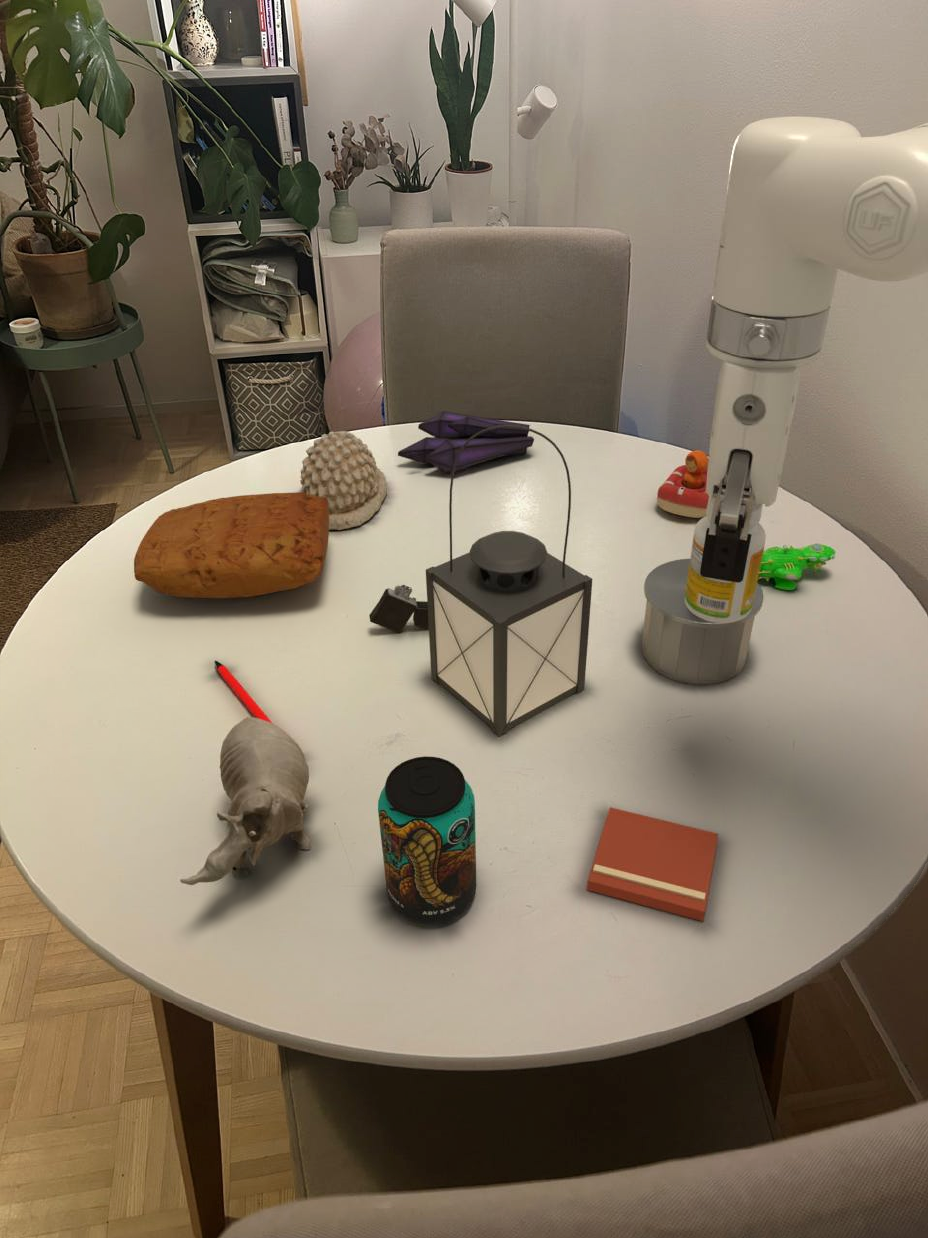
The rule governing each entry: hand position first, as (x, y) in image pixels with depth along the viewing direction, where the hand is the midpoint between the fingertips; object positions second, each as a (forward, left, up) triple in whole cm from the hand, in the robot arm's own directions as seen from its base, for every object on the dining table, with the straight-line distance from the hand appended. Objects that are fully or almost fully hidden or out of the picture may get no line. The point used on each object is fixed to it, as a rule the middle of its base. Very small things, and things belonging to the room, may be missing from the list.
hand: (726, 555), depth 72 cm
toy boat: (+7, -47, -21) cm, 52 cm away
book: (+1, +14, -21) cm, 26 cm away
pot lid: (+2, -15, -14) cm, 20 cm away
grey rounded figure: (+32, +22, -21) cm, 45 cm away
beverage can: (+17, +22, -21) cm, 35 cm away
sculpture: (+52, -34, -21) cm, 65 cm away
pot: (+2, -15, -21) cm, 26 cm away
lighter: (+32, -10, -21) cm, 40 cm away
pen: (+41, +8, -21) cm, 47 cm away
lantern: (+19, -4, -21) cm, 29 cm away
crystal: (+40, -50, -21) cm, 68 cm away
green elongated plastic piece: (-3, -31, -21) cm, 37 cm away
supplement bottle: (0, 0, -5) cm, 5 cm away
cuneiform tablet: (+55, -13, -21) cm, 60 cm away
